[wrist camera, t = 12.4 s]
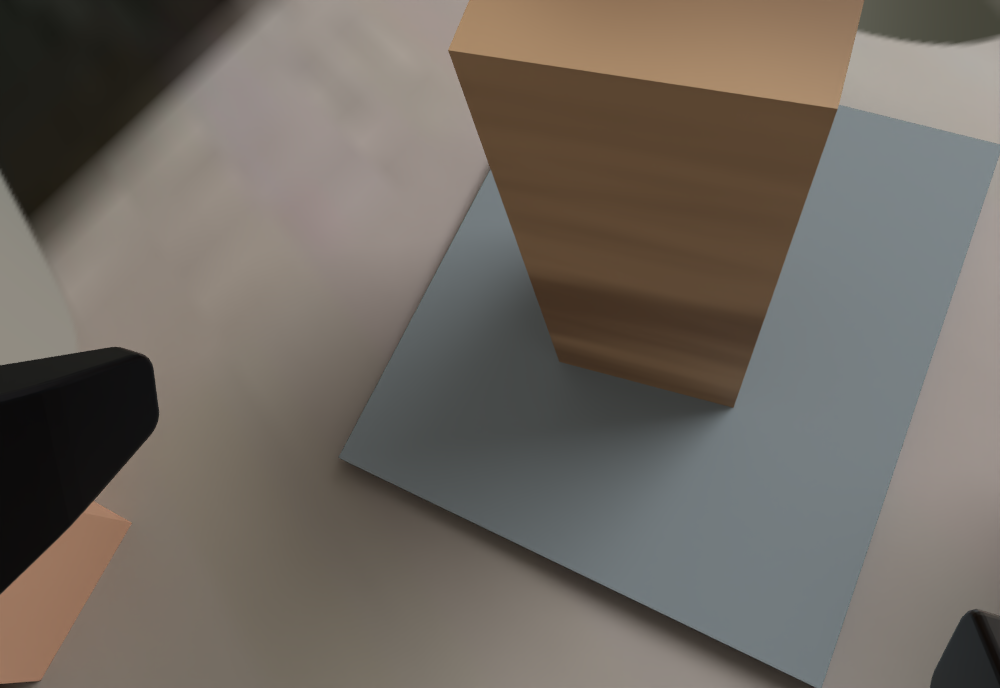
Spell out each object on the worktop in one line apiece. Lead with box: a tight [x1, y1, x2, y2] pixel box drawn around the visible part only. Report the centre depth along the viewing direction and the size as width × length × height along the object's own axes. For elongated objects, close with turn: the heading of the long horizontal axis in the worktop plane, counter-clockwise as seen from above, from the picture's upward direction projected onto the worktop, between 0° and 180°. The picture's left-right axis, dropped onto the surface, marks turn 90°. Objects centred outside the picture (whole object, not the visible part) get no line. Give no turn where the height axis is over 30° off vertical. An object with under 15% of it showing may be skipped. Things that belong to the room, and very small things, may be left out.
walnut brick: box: [448, 0, 864, 408], centre depth 16 cm, size 5×5×13 cm
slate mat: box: [338, 105, 1000, 688], centre depth 23 cm, size 16×14×1 cm
